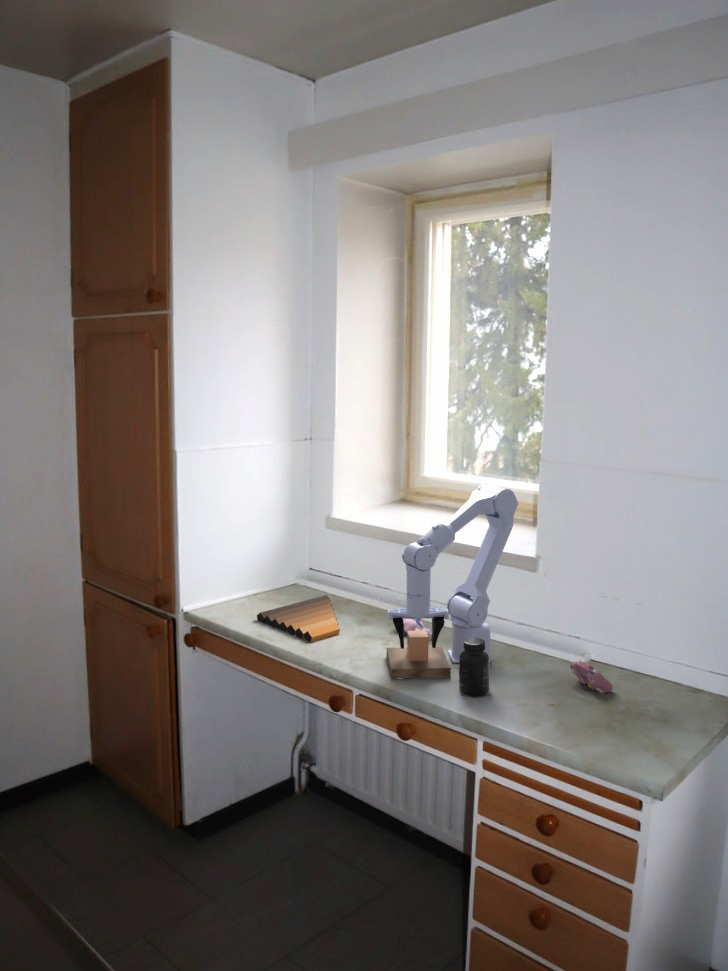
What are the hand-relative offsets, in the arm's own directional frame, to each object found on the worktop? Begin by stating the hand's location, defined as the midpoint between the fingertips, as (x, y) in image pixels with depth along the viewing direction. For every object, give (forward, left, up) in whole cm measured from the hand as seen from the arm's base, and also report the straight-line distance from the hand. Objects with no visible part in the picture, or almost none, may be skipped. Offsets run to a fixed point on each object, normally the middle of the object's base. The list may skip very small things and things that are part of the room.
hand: (417, 646), depth 197 cm
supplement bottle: (-11, +15, -5) cm, 19 cm away
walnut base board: (0, 0, -5) cm, 5 cm away
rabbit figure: (-2, -23, -6) cm, 24 cm away
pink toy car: (-38, +13, -6) cm, 41 cm away
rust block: (0, 0, -3) cm, 3 cm away
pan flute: (+24, -36, -6) cm, 44 cm away
